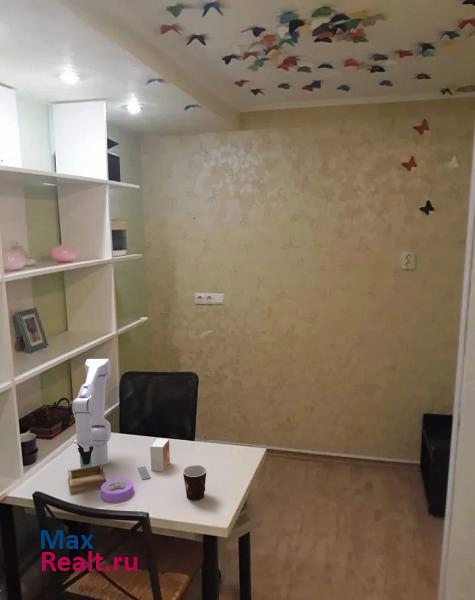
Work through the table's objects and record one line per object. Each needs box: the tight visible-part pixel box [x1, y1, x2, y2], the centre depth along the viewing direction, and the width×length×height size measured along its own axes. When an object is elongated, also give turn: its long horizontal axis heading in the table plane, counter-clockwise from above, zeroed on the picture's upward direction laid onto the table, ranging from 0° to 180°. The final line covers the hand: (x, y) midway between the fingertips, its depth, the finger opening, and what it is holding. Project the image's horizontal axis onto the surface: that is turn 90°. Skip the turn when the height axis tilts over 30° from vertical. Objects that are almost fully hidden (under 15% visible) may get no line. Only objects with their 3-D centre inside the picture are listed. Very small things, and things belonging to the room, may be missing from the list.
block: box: [79, 453, 92, 469], centre depth 185 cm, size 4×4×6 cm
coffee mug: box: [182, 464, 207, 502], centre depth 174 cm, size 12×9×10 cm
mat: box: [136, 466, 151, 481], centre depth 192 cm, size 10×10×1 cm
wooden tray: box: [67, 464, 107, 495], centre depth 187 cm, size 13×13×4 cm
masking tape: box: [100, 477, 134, 503], centre depth 178 cm, size 12×12×4 cm
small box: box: [149, 438, 171, 472], centre depth 199 cm, size 8×6×10 cm
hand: (86, 461), depth 186 cm, fingers closed on block, 4 cm apart
